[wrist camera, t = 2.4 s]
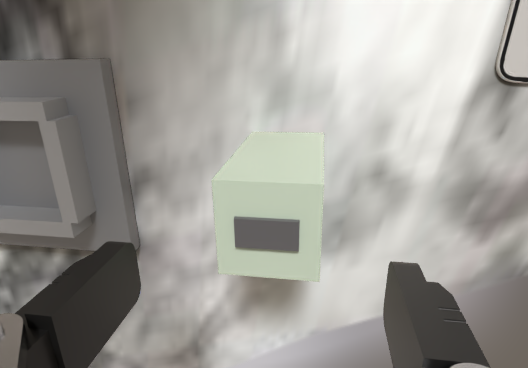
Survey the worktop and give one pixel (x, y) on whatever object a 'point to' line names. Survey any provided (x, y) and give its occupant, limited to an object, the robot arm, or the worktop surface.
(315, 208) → the block
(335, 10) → the worktop surface
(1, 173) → the power strip
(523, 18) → the smartphone
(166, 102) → the worktop surface
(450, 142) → the worktop surface
